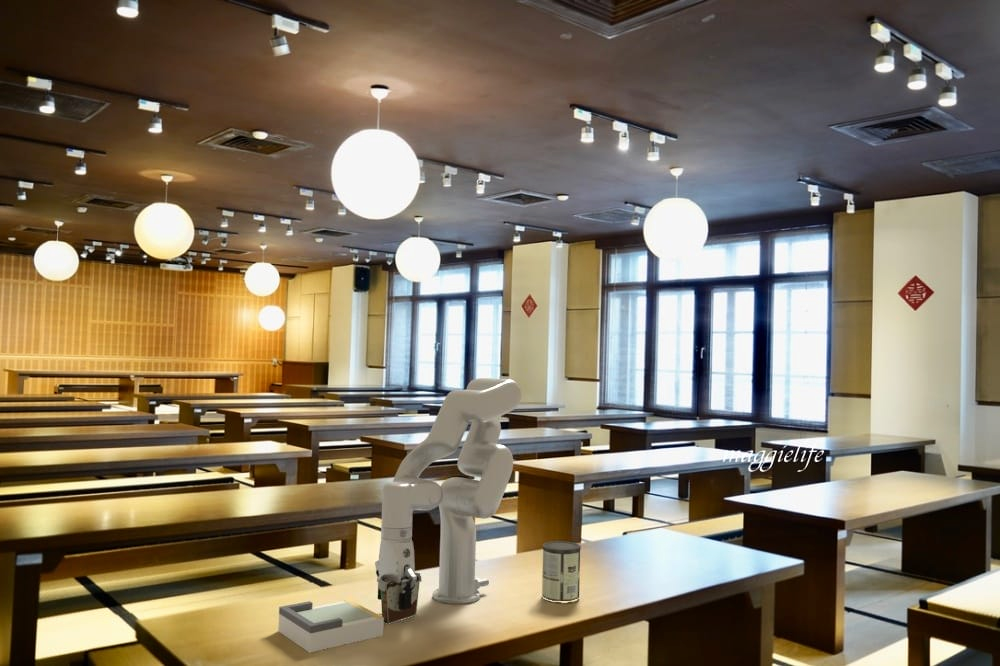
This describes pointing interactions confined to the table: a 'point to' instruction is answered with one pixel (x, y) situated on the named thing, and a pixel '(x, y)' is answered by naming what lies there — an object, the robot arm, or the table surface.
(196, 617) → the table surface
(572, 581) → the coffee can
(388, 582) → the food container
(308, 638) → the loading dock
